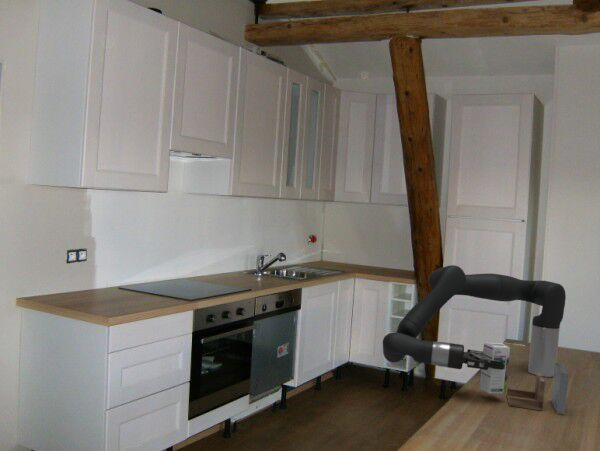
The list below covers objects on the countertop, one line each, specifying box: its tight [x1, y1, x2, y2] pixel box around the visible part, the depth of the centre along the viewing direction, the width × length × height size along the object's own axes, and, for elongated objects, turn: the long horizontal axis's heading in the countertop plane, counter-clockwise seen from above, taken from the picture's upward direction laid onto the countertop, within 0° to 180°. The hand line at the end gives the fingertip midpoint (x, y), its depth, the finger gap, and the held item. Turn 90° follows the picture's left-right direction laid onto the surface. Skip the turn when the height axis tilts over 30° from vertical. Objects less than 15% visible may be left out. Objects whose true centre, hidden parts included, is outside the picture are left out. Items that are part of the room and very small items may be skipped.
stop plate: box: [551, 362, 569, 416], centre depth 191 cm, size 12×2×12 cm, turn 166°
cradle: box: [506, 372, 546, 411], centre depth 193 cm, size 10×9×8 cm
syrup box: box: [479, 342, 511, 395], centre depth 195 cm, size 6×6×14 cm
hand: (502, 362), depth 195 cm, fingers closed on syrup box, 7 cm apart
